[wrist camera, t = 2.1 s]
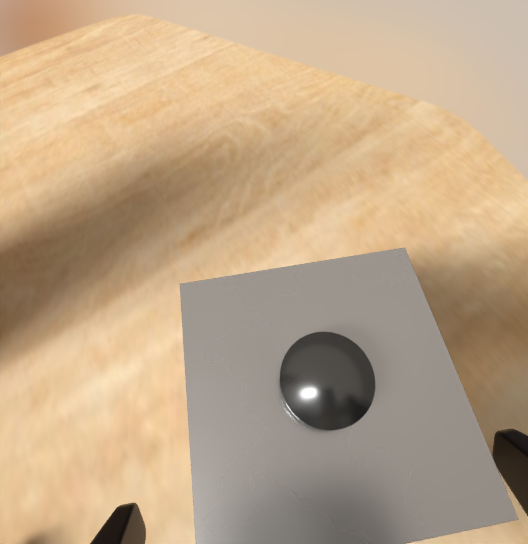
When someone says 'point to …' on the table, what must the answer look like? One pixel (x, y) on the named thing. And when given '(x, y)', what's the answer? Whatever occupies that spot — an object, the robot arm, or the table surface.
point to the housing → (329, 410)
